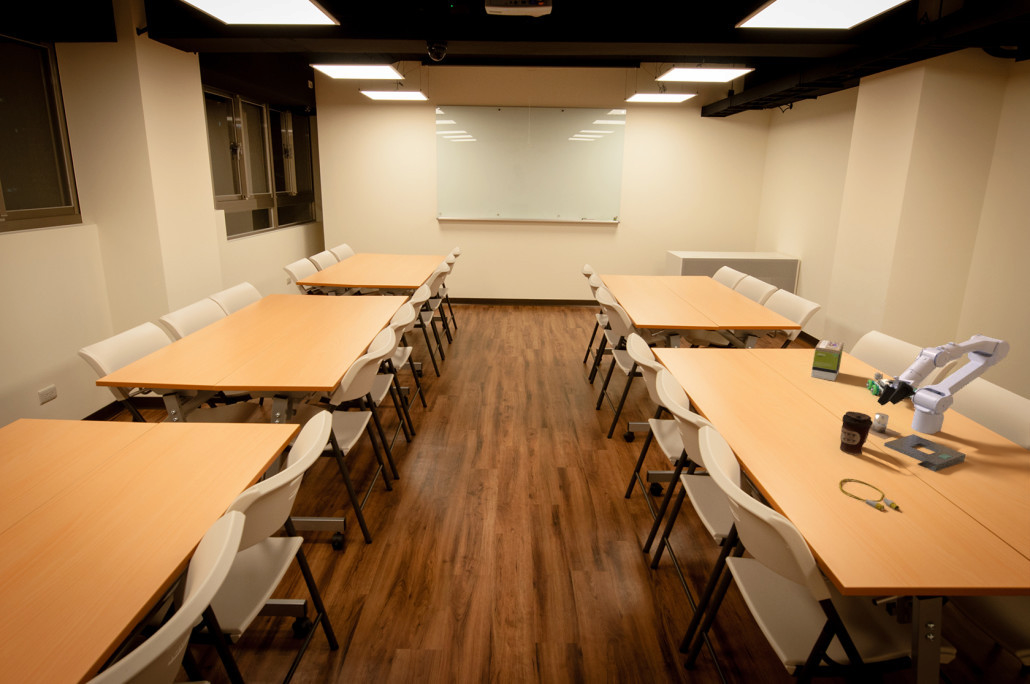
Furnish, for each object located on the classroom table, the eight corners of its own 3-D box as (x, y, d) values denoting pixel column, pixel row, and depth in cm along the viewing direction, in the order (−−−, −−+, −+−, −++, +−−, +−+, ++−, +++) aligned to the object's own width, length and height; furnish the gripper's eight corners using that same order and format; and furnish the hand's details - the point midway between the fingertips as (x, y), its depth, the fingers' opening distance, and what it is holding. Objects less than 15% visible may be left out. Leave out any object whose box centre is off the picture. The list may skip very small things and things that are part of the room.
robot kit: (880, 406, 222) (885, 384, 219) (862, 385, 245) (866, 365, 242) (934, 412, 217) (940, 390, 214) (910, 390, 240) (915, 370, 237)
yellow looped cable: (852, 509, 152) (853, 502, 152) (832, 480, 167) (833, 474, 166) (901, 514, 150) (902, 508, 149) (876, 484, 165) (877, 478, 164)
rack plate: (911, 440, 192) (913, 433, 191) (963, 461, 178) (965, 454, 178) (883, 449, 185) (884, 442, 185) (935, 471, 172) (937, 464, 171)
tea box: (815, 368, 265) (820, 338, 261) (839, 372, 260) (844, 342, 256) (810, 376, 254) (815, 346, 250) (834, 381, 248) (840, 350, 244)
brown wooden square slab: (872, 426, 203) (873, 422, 202) (900, 437, 194) (901, 433, 194) (855, 431, 199) (855, 427, 198) (883, 443, 190) (884, 439, 190)
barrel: (876, 427, 199) (879, 412, 197) (887, 431, 195) (891, 416, 193) (869, 429, 197) (872, 413, 195) (880, 434, 193) (884, 418, 192)
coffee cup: (854, 459, 179) (862, 422, 175) (830, 448, 186) (837, 412, 182) (870, 453, 182) (878, 417, 179) (846, 443, 190) (853, 408, 186)
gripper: (893, 369, 197) (865, 395, 197) (916, 364, 183) (887, 393, 182) (909, 383, 195) (882, 410, 195) (934, 380, 181) (904, 408, 181)
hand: (885, 402), depth 189 cm, fingers open, 7 cm apart
